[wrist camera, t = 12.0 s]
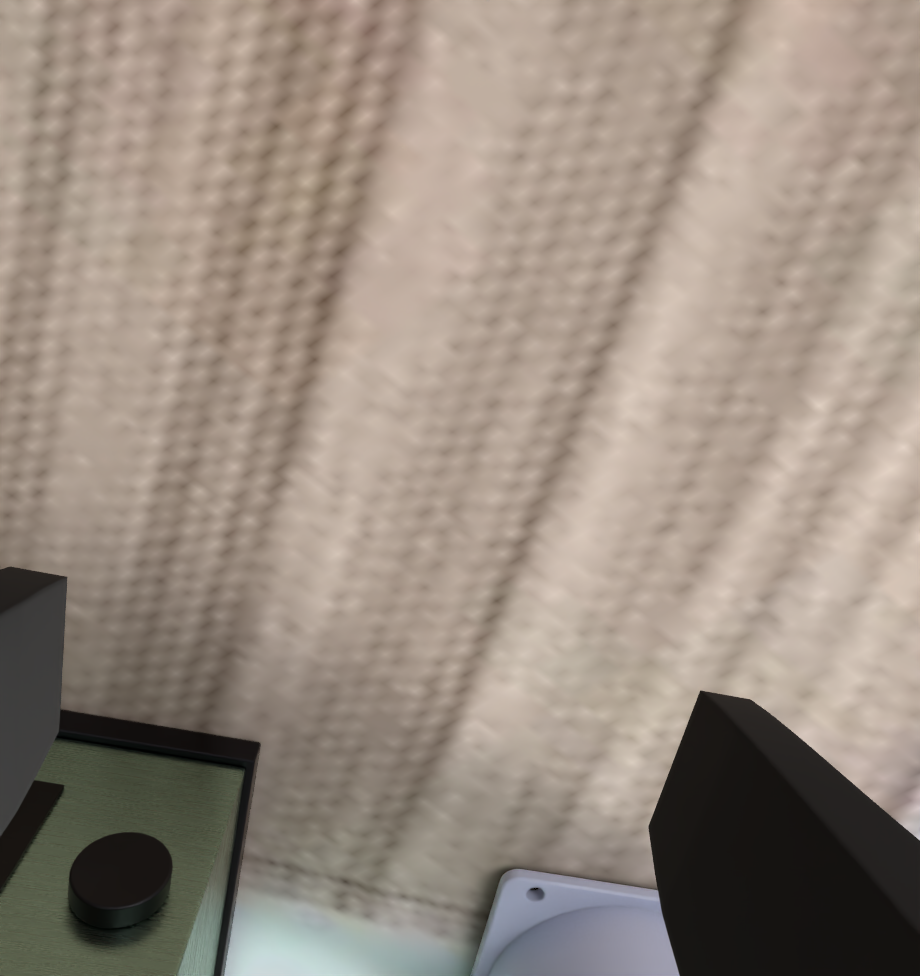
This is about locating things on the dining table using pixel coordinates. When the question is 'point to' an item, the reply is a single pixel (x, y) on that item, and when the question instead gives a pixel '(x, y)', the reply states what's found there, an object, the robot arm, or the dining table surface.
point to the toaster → (126, 852)
